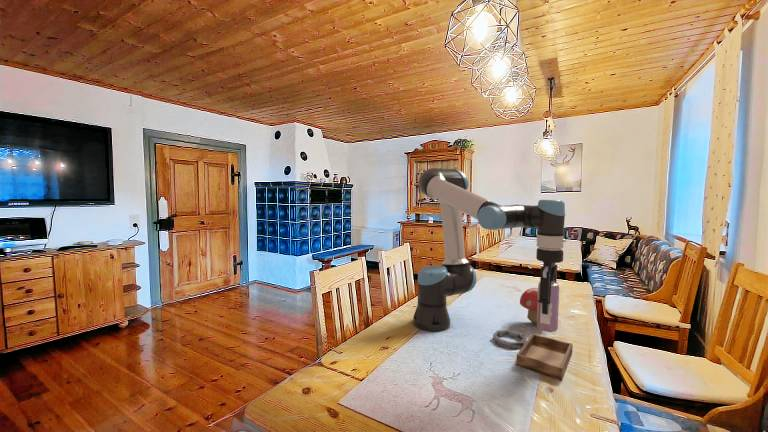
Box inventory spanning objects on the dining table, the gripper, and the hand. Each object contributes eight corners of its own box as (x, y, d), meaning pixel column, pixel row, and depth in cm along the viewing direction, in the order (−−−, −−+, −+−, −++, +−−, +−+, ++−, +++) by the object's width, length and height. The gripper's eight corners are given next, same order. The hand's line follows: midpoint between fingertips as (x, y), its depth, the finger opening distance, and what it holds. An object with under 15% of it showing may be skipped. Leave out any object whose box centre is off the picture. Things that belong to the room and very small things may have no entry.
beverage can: (558, 327, 103) (559, 281, 102) (557, 334, 98) (558, 286, 97) (537, 323, 106) (539, 279, 105) (535, 329, 101) (537, 283, 100)
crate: (516, 365, 99) (516, 354, 99) (531, 342, 114) (532, 333, 114) (562, 380, 91) (562, 368, 91) (572, 353, 107) (572, 343, 106)
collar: (490, 342, 114) (490, 337, 114) (499, 332, 123) (499, 328, 123) (520, 351, 108) (520, 346, 108) (528, 340, 116) (528, 335, 116)
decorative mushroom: (523, 329, 126) (524, 292, 125) (515, 316, 139) (516, 283, 138) (560, 332, 123) (561, 294, 122) (548, 319, 136) (550, 284, 135)
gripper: (557, 254, 91) (554, 333, 92) (568, 246, 105) (565, 314, 107) (529, 251, 95) (527, 326, 97) (543, 243, 110) (541, 309, 111)
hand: (547, 320), depth 102 cm, fingers closed on beverage can, 6 cm apart
